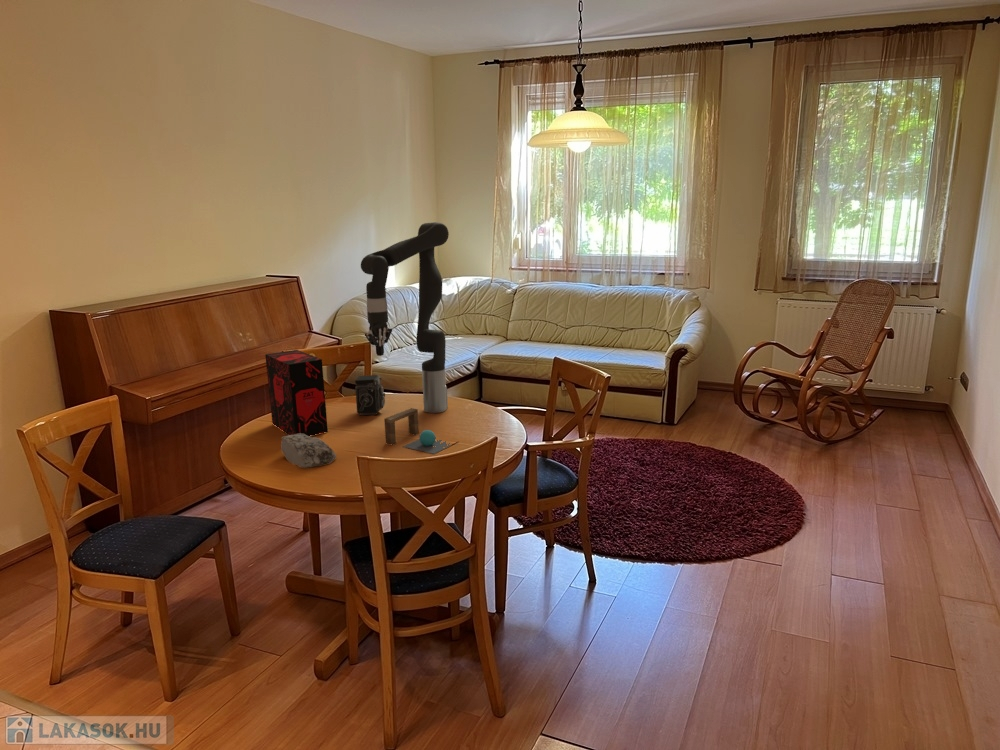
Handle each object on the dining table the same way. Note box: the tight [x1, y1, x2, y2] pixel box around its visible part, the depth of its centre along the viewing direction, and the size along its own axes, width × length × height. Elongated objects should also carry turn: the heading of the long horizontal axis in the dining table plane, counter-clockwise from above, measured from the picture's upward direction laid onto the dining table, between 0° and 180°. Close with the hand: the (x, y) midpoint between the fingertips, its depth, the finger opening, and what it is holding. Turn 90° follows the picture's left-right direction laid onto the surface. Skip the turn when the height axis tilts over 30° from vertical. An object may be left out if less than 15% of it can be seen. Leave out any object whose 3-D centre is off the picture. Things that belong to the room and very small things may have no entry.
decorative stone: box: [280, 433, 337, 469], centre depth 231 cm, size 20×14×10 cm
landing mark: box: [402, 438, 451, 455], centre depth 244 cm, size 14×14×1 cm
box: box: [264, 349, 329, 437], centre depth 261 cm, size 23×12×28 cm, turn 38°
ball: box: [418, 429, 437, 446], centre depth 242 cm, size 6×6×6 cm
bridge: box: [384, 407, 420, 446], centre depth 250 cm, size 3×15×9 cm, turn 147°
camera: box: [354, 374, 386, 416], centre depth 281 cm, size 10×11×15 cm
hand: (380, 355), depth 262 cm, fingers closed
